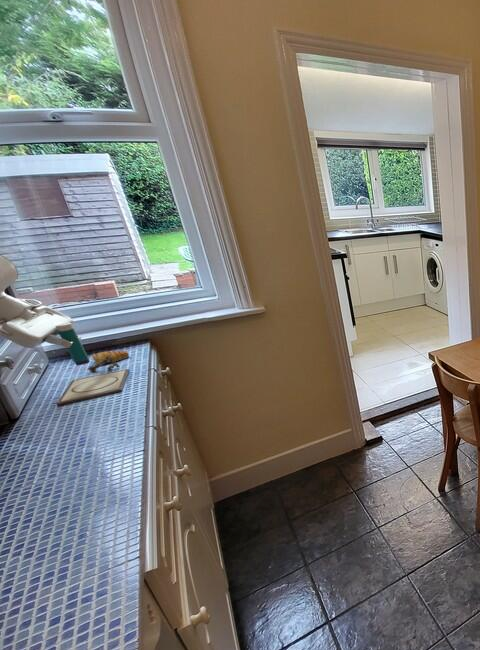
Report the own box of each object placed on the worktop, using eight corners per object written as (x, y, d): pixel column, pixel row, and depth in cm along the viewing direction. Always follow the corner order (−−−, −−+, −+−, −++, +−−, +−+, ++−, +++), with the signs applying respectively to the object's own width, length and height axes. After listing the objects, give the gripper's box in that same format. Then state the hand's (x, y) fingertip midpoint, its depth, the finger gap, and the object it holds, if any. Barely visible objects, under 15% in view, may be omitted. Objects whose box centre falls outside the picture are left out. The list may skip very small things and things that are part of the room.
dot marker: (72, 365, 120) (52, 326, 115) (84, 360, 123) (65, 322, 118) (81, 365, 119) (61, 326, 114) (93, 361, 122) (74, 322, 117)
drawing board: (57, 406, 117) (56, 403, 116) (73, 382, 132) (71, 379, 131) (121, 391, 124) (120, 388, 123) (129, 370, 139) (128, 368, 138)
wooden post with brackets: (120, 366, 140) (108, 355, 138) (98, 378, 140) (86, 368, 138) (123, 364, 142) (111, 354, 140) (102, 376, 141) (90, 366, 139)
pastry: (128, 354, 153) (123, 345, 152) (131, 359, 149) (126, 349, 148) (94, 362, 147) (89, 352, 146) (96, 367, 143) (91, 357, 141)
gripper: (-7, 315, 102) (63, 345, 110) (38, 298, 119) (96, 324, 127) (-22, 335, 102) (49, 363, 110) (26, 315, 120) (84, 340, 127)
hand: (75, 342), depth 119 cm, fingers closed on dot marker, 3 cm apart
